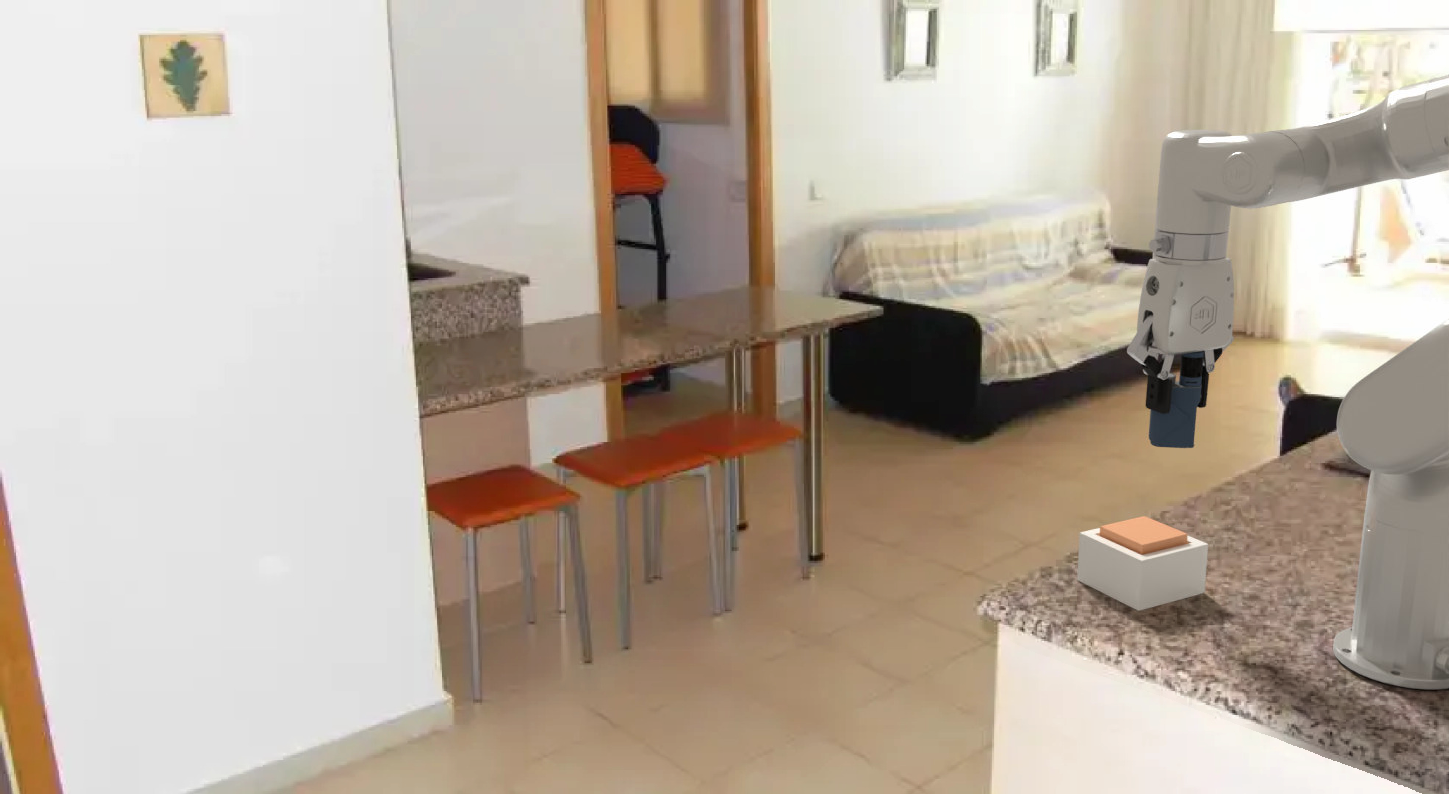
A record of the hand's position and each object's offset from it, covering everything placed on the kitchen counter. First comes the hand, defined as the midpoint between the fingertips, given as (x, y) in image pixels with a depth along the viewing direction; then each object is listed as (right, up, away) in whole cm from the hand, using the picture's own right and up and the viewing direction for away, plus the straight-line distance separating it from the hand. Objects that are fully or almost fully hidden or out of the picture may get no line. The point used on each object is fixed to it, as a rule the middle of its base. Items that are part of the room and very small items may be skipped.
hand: (1175, 406), depth 142 cm
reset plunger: (-2, -17, +4) cm, 18 cm away
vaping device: (0, -5, +1) cm, 5 cm away
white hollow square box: (-2, -21, +5) cm, 22 cm away
